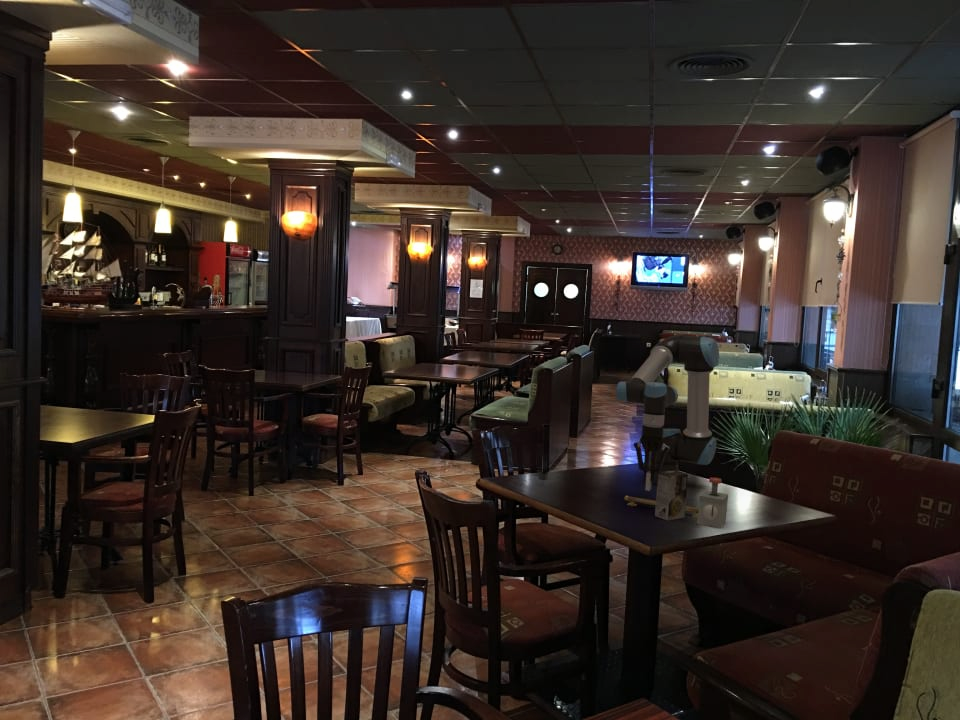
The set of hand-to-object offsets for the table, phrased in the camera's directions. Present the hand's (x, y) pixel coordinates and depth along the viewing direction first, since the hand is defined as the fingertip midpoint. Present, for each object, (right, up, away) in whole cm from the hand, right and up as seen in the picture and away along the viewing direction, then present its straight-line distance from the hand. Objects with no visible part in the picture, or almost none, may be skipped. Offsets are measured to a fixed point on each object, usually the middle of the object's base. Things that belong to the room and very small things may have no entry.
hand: (648, 489), depth 274 cm
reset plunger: (+21, 0, -10) cm, 23 cm away
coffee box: (+7, -9, -5) cm, 12 cm away
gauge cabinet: (+20, -10, -9) cm, 24 cm away
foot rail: (+7, -8, +4) cm, 11 cm away
